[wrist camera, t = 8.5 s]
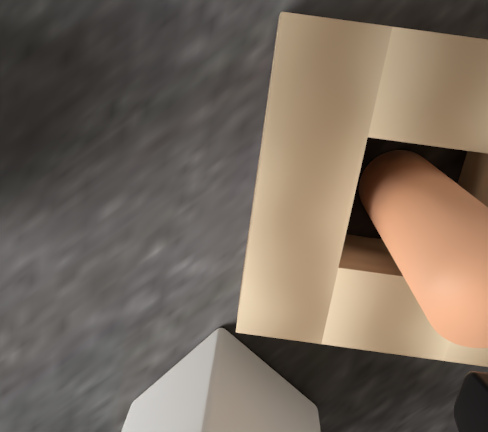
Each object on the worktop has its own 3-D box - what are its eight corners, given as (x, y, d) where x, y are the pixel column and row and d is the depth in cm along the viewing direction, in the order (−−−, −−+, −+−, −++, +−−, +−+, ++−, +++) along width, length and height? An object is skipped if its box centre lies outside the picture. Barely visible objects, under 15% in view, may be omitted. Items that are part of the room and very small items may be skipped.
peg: (351, 216, 21) (409, 339, 12) (367, 145, 19) (443, 227, 11) (423, 225, 21) (531, 355, 12) (443, 155, 19) (578, 245, 11)
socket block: (240, 289, 22) (235, 332, 19) (279, 16, 18) (281, 11, 14) (490, 323, 22) (529, 372, 19) (590, 58, 18) (662, 63, 14)
